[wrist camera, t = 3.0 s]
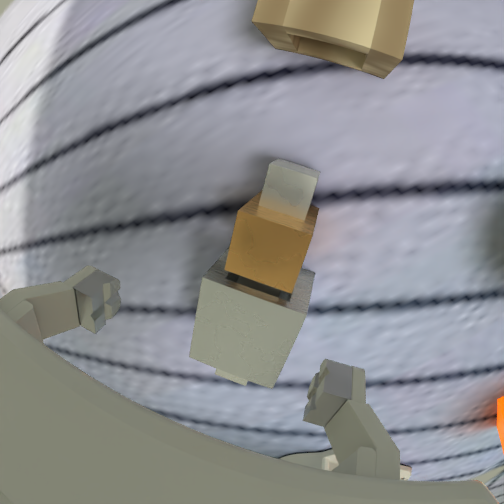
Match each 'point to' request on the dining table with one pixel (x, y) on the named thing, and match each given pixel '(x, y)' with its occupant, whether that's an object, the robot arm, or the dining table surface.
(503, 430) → the orange juice
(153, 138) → the dining table surface
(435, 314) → the dining table surface
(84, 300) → the robot arm
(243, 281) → the tube
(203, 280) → the outer sleeve
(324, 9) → the socket block
